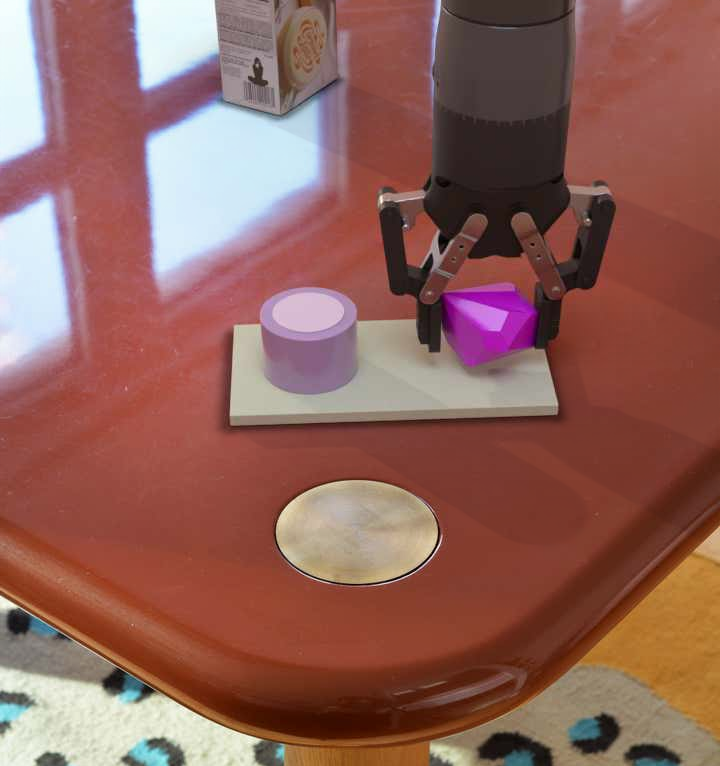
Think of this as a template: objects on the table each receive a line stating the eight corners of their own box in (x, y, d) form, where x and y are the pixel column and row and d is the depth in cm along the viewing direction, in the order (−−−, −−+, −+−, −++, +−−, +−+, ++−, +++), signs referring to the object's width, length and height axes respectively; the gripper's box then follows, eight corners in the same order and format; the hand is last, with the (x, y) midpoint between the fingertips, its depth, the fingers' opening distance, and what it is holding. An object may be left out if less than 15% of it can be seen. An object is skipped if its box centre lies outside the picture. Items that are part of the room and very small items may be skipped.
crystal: (496, 385, 83) (500, 320, 80) (427, 352, 86) (429, 289, 83) (546, 348, 86) (552, 285, 83) (478, 318, 88) (481, 255, 85)
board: (535, 325, 91) (536, 315, 90) (557, 415, 83) (558, 404, 83) (234, 334, 90) (234, 324, 90) (230, 426, 83) (229, 415, 82)
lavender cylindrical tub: (355, 338, 88) (355, 284, 85) (360, 393, 84) (359, 337, 81) (263, 341, 88) (259, 287, 85) (262, 396, 84) (258, 340, 81)
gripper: (374, 119, 71) (375, 383, 82) (648, 111, 71) (611, 374, 83) (367, 61, 77) (368, 315, 88) (620, 53, 77) (590, 308, 88)
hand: (486, 343), depth 85 cm, fingers closed on crystal, 6 cm apart
